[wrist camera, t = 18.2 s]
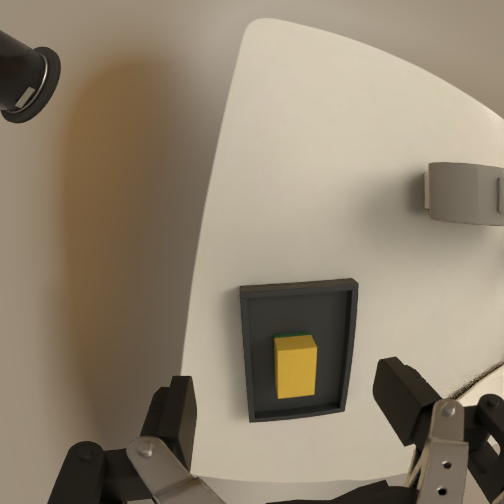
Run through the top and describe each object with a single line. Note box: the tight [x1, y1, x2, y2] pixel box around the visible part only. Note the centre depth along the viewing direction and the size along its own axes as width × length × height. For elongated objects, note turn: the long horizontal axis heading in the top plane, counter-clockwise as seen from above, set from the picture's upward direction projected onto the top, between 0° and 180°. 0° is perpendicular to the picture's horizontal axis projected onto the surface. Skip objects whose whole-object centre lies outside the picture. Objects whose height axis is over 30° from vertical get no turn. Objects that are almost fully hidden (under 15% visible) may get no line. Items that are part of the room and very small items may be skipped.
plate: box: [456, 365, 504, 407], centre depth 41 cm, size 24×24×3 cm
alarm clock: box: [424, 162, 504, 226], centre depth 27 cm, size 23×6×13 cm, turn 92°
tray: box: [240, 278, 358, 423], centre depth 36 cm, size 20×14×2 cm
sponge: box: [274, 332, 317, 399], centre depth 34 cm, size 7×4×4 cm, turn 3°
